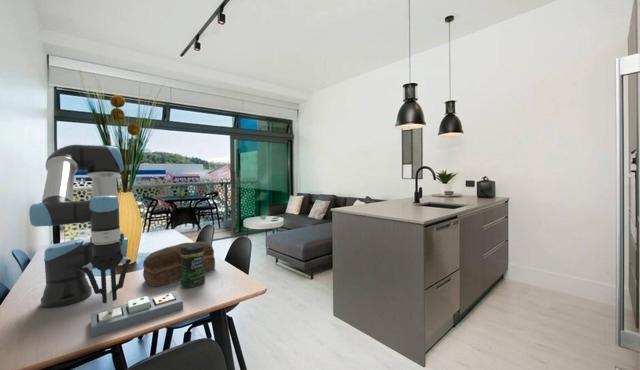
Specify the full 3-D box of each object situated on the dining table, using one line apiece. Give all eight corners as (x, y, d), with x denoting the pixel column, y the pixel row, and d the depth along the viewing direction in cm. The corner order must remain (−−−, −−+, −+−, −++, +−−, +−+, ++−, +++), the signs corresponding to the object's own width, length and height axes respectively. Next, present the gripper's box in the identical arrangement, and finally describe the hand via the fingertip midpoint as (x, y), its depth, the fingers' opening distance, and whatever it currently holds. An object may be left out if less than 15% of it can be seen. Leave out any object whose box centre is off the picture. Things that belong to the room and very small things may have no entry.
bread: (140, 281, 126) (138, 248, 125) (204, 263, 151) (203, 235, 150) (152, 289, 117) (150, 254, 116) (218, 268, 142) (217, 239, 141)
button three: (156, 310, 96) (156, 303, 96) (153, 304, 101) (153, 297, 101) (175, 304, 100) (174, 297, 100) (171, 299, 105) (171, 292, 105)
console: (91, 337, 82) (90, 328, 82) (91, 321, 91) (90, 313, 91) (183, 308, 99) (182, 300, 99) (175, 297, 108) (175, 290, 108)
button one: (99, 328, 86) (99, 319, 86) (98, 320, 90) (98, 312, 90) (122, 321, 90) (122, 313, 90) (120, 314, 94) (120, 306, 94)
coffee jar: (186, 290, 115) (185, 248, 114) (178, 285, 120) (176, 245, 119) (208, 283, 123) (206, 243, 122) (199, 279, 128) (198, 240, 127)
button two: (129, 314, 91) (129, 306, 91) (127, 308, 96) (127, 300, 95) (150, 308, 95) (149, 301, 95) (147, 302, 99) (147, 295, 99)
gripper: (80, 248, 82) (84, 322, 83) (131, 240, 90) (134, 308, 92) (80, 243, 87) (84, 313, 89) (129, 236, 96) (132, 300, 97)
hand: (110, 310), depth 90 cm, fingers closed
